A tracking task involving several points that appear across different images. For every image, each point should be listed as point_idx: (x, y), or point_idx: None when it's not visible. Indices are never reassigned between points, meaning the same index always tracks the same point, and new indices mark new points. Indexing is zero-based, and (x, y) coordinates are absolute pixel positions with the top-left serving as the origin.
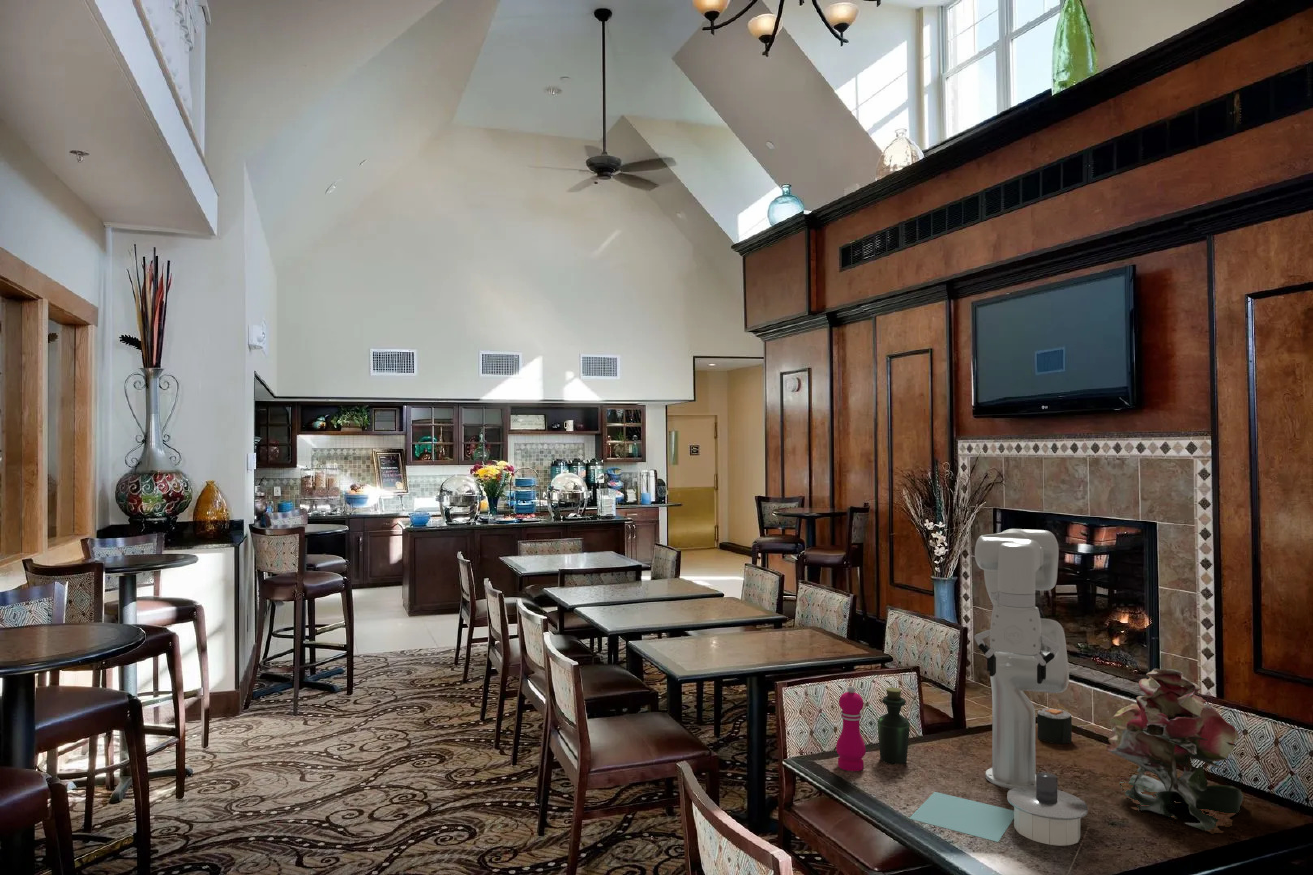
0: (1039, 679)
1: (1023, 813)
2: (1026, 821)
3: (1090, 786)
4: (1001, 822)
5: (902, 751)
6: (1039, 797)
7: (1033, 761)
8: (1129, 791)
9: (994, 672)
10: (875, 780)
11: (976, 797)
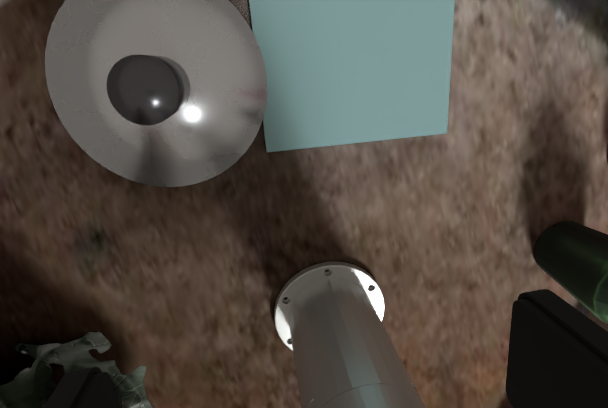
0: (57, 398)
1: None
2: None
3: (204, 382)
4: (274, 60)
5: (559, 248)
6: (169, 59)
7: (293, 343)
8: (131, 398)
9: (523, 360)
10: (572, 111)
11: (364, 175)
